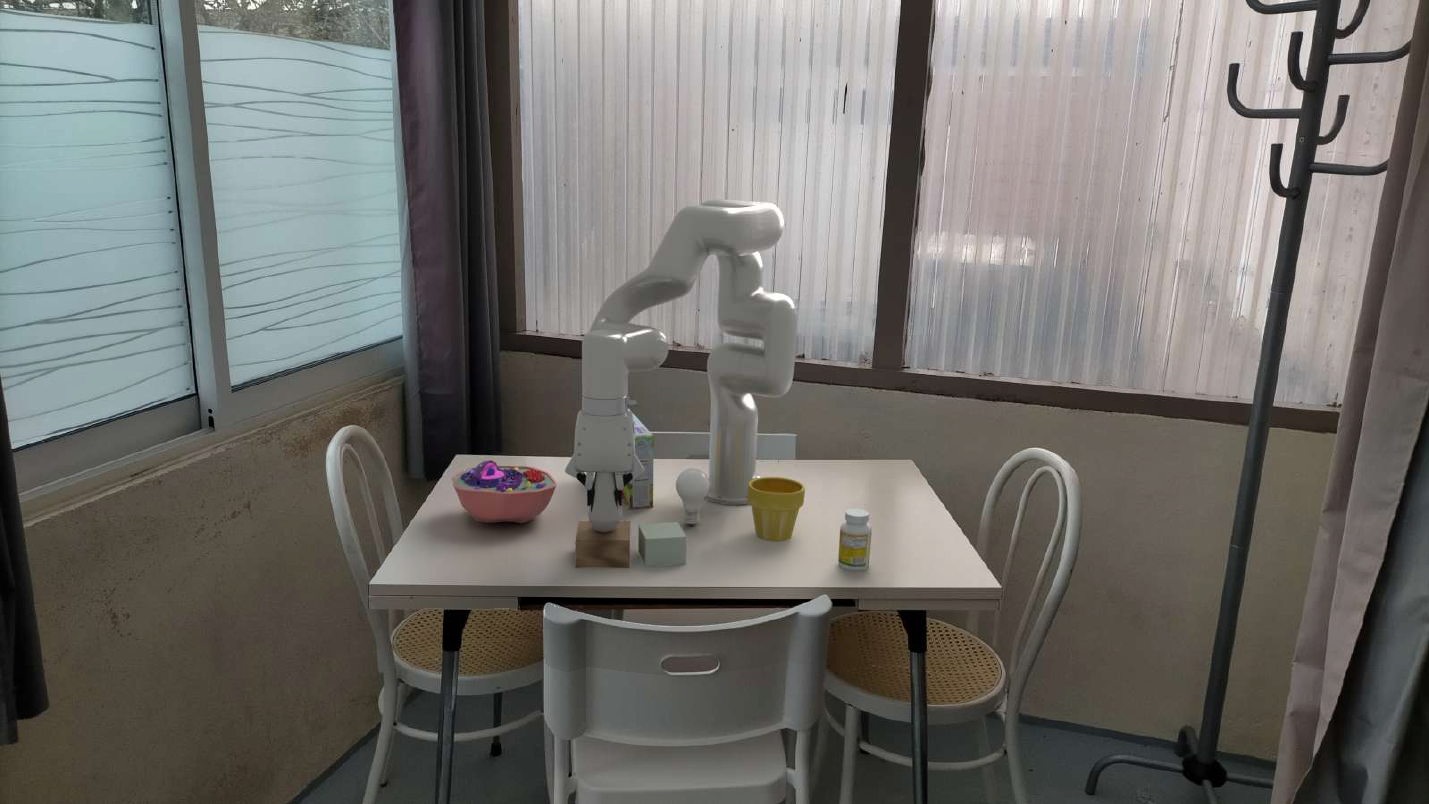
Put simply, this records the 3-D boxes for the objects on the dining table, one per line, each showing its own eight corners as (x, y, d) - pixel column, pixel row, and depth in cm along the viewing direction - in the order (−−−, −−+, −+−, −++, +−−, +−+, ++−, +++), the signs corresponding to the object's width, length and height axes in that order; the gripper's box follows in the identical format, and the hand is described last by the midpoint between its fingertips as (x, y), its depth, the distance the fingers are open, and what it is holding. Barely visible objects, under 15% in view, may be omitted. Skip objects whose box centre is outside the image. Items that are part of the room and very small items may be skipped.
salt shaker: (624, 522, 178) (625, 451, 174) (618, 534, 172) (619, 461, 169) (591, 520, 178) (591, 449, 175) (584, 532, 173) (584, 459, 169)
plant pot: (788, 522, 196) (791, 474, 193) (811, 542, 186) (814, 491, 184) (738, 527, 192) (740, 478, 190) (758, 547, 183) (760, 495, 181)
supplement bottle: (858, 573, 173) (861, 520, 171) (831, 565, 176) (835, 512, 174) (874, 564, 177) (878, 512, 175) (848, 556, 180) (852, 505, 178)
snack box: (604, 477, 219) (604, 408, 216) (629, 475, 221) (630, 407, 217) (627, 510, 200) (628, 435, 196) (655, 508, 202) (656, 434, 198)
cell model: (528, 544, 181) (527, 483, 178) (433, 527, 188) (430, 468, 185) (573, 514, 197) (573, 457, 194) (483, 499, 203) (482, 444, 200)
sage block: (677, 548, 181) (677, 522, 180) (685, 564, 175) (686, 536, 173) (638, 551, 179) (638, 524, 178) (645, 566, 173) (645, 539, 172)
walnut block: (629, 547, 181) (630, 521, 180) (629, 567, 172) (629, 540, 171) (578, 547, 180) (578, 520, 179) (575, 567, 172) (575, 539, 170)
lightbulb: (669, 521, 195) (671, 465, 192) (700, 517, 197) (702, 462, 194) (682, 532, 189) (683, 475, 186) (713, 528, 191) (715, 472, 189)
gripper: (654, 400, 174) (652, 502, 179) (556, 399, 173) (557, 502, 177) (654, 411, 167) (653, 517, 171) (553, 410, 166) (554, 517, 170)
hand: (604, 508), depth 174 cm, fingers open, 3 cm apart
